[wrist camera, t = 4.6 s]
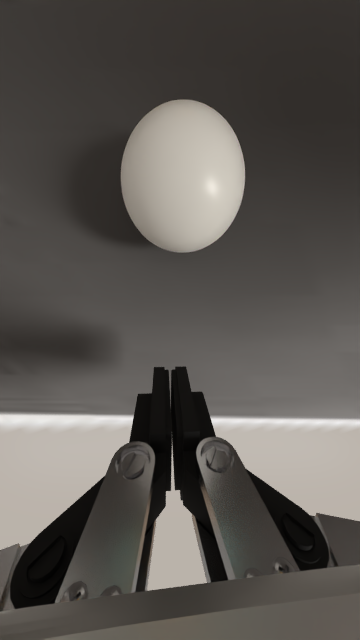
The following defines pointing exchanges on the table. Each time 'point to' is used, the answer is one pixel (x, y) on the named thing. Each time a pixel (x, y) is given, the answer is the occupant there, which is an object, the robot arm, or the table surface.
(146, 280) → the table surface
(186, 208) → the white ball
